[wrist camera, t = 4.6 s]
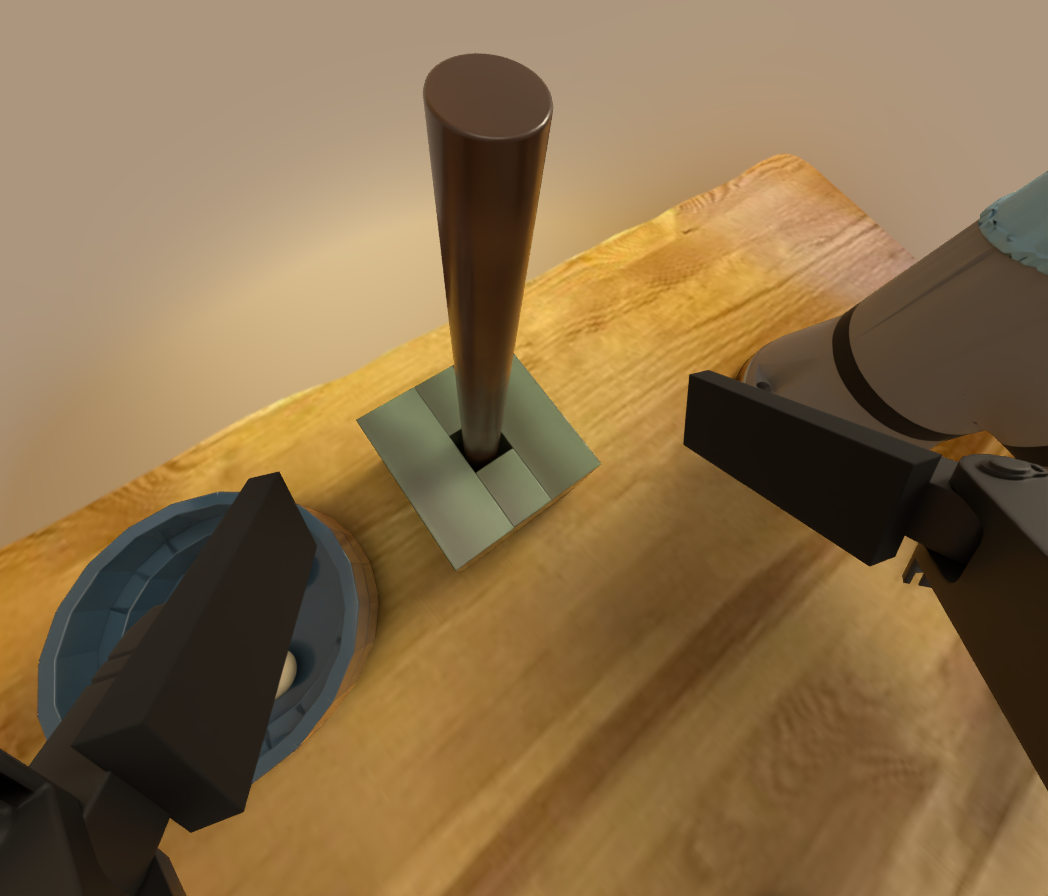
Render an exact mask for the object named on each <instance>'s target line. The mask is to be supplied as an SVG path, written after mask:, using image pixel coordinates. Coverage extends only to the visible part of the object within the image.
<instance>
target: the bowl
mask: <svg viewBox="0 0 1048 896" xmlns="http://www.w3.org/2000/svg"><path fill="white" fill-rule="evenodd" d="M239 493H240V492H215V493H212V494H208V495H204V496H200V497H196V498H193V499H189V500H185V501H181V502H177V503H174V504H171V505H169V506H167V507H166V508H164V509H162V510H160V511H158V512H156V513H155V514H153V515H151V516H149V517H147V518H146V519H144V520H142V521H140V522H138V523H136V524H135V525H133V526H131V527H129V528H128V529H126V530H125V531H124V532H123V533H122V534H121V535H120V536H118V537H117V538H116V539H115V540H114V541H113V542H112V543H111V544H110V545H109V546H107V547H106V548H105V549H104V550H103V551H102V552H101V553H100V554H99V555H97V556H96V557H95V558H94V559H93V560H92V561H91V562H90V563H89V564H88V565H87V566H86V568H85V569H84V570H83V572H82V573H81V575H80V576H79V578H78V579H77V581H76V582H75V584H74V585H73V587H72V588H71V590H70V591H69V592H68V594H67V595H66V597H65V598H64V600H63V601H62V603H61V604H60V606H59V607H58V609H57V611H56V613H55V615H54V618H53V621H52V624H51V627H50V630H49V633H48V636H47V639H46V641H45V644H44V647H43V650H42V653H41V656H40V659H39V662H40V663H39V664H38V706H37V713H38V715H37V717H38V719H39V722H40V724H41V727H42V730H43V732H44V735H45V737H46V740H48V739H49V737H50V736H51V735H52V733H53V732H54V730H55V729H56V728H57V726H58V725H59V724H60V722H61V721H62V719H63V718H64V717H65V715H66V714H67V712H68V711H69V710H70V708H71V707H72V706H73V704H74V703H75V701H76V700H77V699H78V697H79V696H80V695H81V693H82V692H83V690H84V689H85V688H86V686H89V685H91V683H92V681H91V679H92V678H93V677H94V675H95V674H96V672H97V671H98V670H99V668H100V667H101V666H102V664H103V663H105V662H107V661H108V658H107V657H108V656H109V654H110V653H111V652H112V650H113V649H114V648H115V646H116V645H117V643H118V642H119V641H120V639H121V638H122V637H123V635H124V634H125V632H126V631H127V630H128V629H129V628H130V627H132V626H133V625H134V624H135V623H136V622H137V621H138V620H139V619H140V618H141V617H142V616H144V615H145V614H146V613H147V612H148V611H149V610H150V609H151V608H152V607H153V606H156V605H160V604H163V603H166V602H167V601H168V599H169V598H170V596H171V595H172V593H173V592H174V590H175V589H176V587H177V586H178V584H179V583H180V581H181V580H182V578H183V577H184V575H185V574H186V572H187V571H188V569H189V568H190V566H191V565H192V563H193V562H194V560H195V559H196V557H197V556H198V554H199V553H200V551H201V550H202V548H203V547H204V545H205V544H206V542H207V541H208V539H209V538H210V536H211V535H212V533H213V532H214V530H215V529H216V527H217V526H218V524H219V523H220V521H221V520H222V518H223V517H224V515H225V514H226V512H227V511H228V509H229V508H230V506H231V505H232V503H233V502H234V500H235V499H236V497H237V496H238V494H239ZM296 505H297V507H298V509H299V511H300V513H301V515H302V517H303V519H304V521H305V523H306V525H307V527H308V529H309V531H310V533H311V535H312V536H313V538H314V540H315V542H316V544H317V549H316V553H315V556H314V560H313V563H312V567H311V571H310V574H309V578H308V581H307V585H306V589H305V592H304V596H303V600H302V603H301V607H300V610H299V614H298V618H297V621H296V625H295V628H294V632H293V636H292V639H291V643H290V647H289V650H288V651H290V652H291V653H292V654H293V656H294V657H295V660H296V663H297V672H296V676H295V679H294V681H293V683H292V685H291V686H290V688H289V689H288V690H287V691H286V692H285V693H284V694H283V695H282V696H281V697H279V698H278V699H276V700H275V701H274V704H273V708H272V712H271V715H270V719H269V723H268V726H267V730H266V733H265V737H264V741H263V744H262V748H261V751H260V755H259V759H258V762H257V766H256V770H255V773H254V777H253V780H252V784H253V783H254V782H255V781H257V780H258V779H259V778H260V777H262V776H263V775H264V774H266V773H267V772H268V771H269V770H271V769H272V768H273V767H275V766H276V765H277V764H278V763H280V762H281V761H282V760H283V759H285V758H286V757H287V756H289V755H290V754H291V753H292V752H294V751H295V750H296V749H298V748H299V747H300V746H301V745H302V744H303V743H304V742H305V741H306V740H307V739H308V738H309V737H310V736H311V735H312V734H313V733H314V732H315V731H316V730H317V729H318V728H319V727H320V726H321V725H322V724H323V723H324V722H325V721H326V720H327V719H328V718H330V716H331V715H332V714H333V713H334V712H335V710H336V709H337V708H338V706H339V705H340V704H341V702H342V701H343V700H344V698H345V697H346V696H347V694H348V693H349V692H350V690H351V689H352V688H353V686H354V685H355V684H356V682H357V681H358V679H359V678H360V675H361V673H362V670H363V668H364V665H365V663H366V660H367V658H368V655H369V653H370V650H371V648H372V645H373V643H374V640H375V633H376V624H377V614H378V604H379V600H378V599H379V598H378V593H377V589H376V584H375V579H374V575H373V570H372V566H371V563H370V561H369V560H368V558H367V557H366V555H365V553H364V552H363V550H362V548H361V547H360V545H359V543H358V542H357V540H356V539H355V537H354V536H353V535H352V534H351V533H350V532H348V531H347V530H346V529H345V528H343V527H342V526H341V525H339V524H338V523H337V522H336V521H334V520H333V519H332V518H331V517H329V516H327V515H325V514H323V513H320V512H317V511H315V510H312V509H310V508H307V507H305V506H302V505H299V504H296Z"/></svg>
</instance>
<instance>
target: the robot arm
mask: <svg viewBox="0 0 1048 896" xmlns="http://www.w3.org/2000/svg"><path fill="white" fill-rule="evenodd" d="M985 430H986V431H988V432H989V433H991V434H992V435H993V436H994V437H995V438H996V439H997V440H998V441H999V442H1000V443H1001V444H1002V445H1003V446H1004V447H1005V448H1006V449H1007V450H1008V451H1009V452H1010V453H1011V454H1012V455H1013V456H1014V457H1015V458H1016V459H1014V458H1010V457H1005V456H998V455H990V454H972V455H968V456H963V457H962V458H961V459H960V460H959V462H956V461H953V460H950V459H947V458H944V457H942V455H941V454H939V453H936V452H933V451H930V450H929V449H931V448H933V447H934V446H936V445H937V444H939V443H940V442H943V441H947V440H950V439H953V438H957V437H960V436H964V435H967V434H971V433H976V432H980V431H985ZM683 445H685V446H686V447H688V448H689V449H691V450H692V451H694V452H695V453H697V454H698V455H700V456H702V457H703V458H705V459H706V460H708V461H709V462H711V463H712V464H714V465H715V466H717V467H718V468H720V469H721V470H723V471H724V472H726V473H727V474H729V475H731V476H732V477H734V478H735V479H737V480H738V481H740V482H741V483H743V484H744V485H746V486H747V487H749V488H750V489H752V490H753V491H755V492H757V493H758V494H760V495H761V496H763V497H764V498H766V499H767V500H769V501H770V502H772V503H773V504H775V505H776V506H778V507H779V508H781V509H782V510H784V511H786V512H787V513H789V514H790V515H792V516H793V517H795V518H796V519H798V520H799V521H801V522H802V523H804V524H805V525H807V526H808V527H810V528H812V529H813V530H815V531H816V532H818V533H819V534H821V535H822V536H824V537H825V538H827V539H828V540H830V541H831V542H833V543H834V544H836V545H837V546H839V547H841V548H842V549H844V550H845V551H847V552H848V553H850V554H851V555H853V556H854V557H856V558H857V559H859V560H860V561H862V562H863V563H865V564H867V565H868V566H872V565H875V564H877V563H880V562H883V561H885V560H888V559H890V558H893V557H895V556H896V553H897V551H898V549H899V547H900V545H901V543H902V541H903V538H904V536H907V537H909V538H911V539H912V540H914V541H916V542H918V545H917V547H916V549H915V551H914V553H913V555H912V557H911V559H910V561H909V563H908V565H907V567H906V569H905V571H904V573H903V575H902V577H903V583H908V584H910V582H911V580H912V578H913V576H914V575H915V573H922V572H923V573H924V574H923V576H922V578H921V580H920V582H919V586H925V587H930V588H932V589H933V591H934V592H935V594H936V596H937V598H938V599H939V601H940V603H941V605H942V606H943V608H944V610H945V612H946V613H947V615H948V617H949V619H950V620H951V622H952V624H953V626H954V627H955V629H956V631H957V633H958V634H959V636H960V638H961V640H962V642H963V643H964V645H965V647H966V649H967V650H968V652H969V654H970V656H971V657H972V659H973V661H974V663H975V664H976V666H977V668H978V670H979V671H980V673H981V675H982V677H983V678H984V680H985V682H986V684H987V685H988V687H989V689H990V691H991V692H992V694H993V696H994V698H995V699H996V701H997V703H998V705H999V706H1000V708H1001V710H1002V712H1003V713H1004V715H1005V717H1006V719H1007V720H1008V722H1009V724H1010V726H1011V727H1012V729H1013V731H1014V733H1015V734H1016V736H1017V738H1018V740H1019V741H1020V743H1021V745H1022V747H1023V748H1024V750H1025V752H1026V754H1027V756H1028V757H1029V759H1030V761H1031V763H1032V764H1033V766H1034V768H1035V770H1036V771H1037V773H1038V775H1039V777H1040V778H1041V780H1042V782H1043V784H1044V785H1045V787H1046V789H1047V791H1048V171H1047V172H1045V173H1044V174H1042V175H1041V176H1039V177H1037V178H1036V179H1034V180H1033V181H1032V182H1030V183H1028V184H1027V185H1025V186H1024V187H1022V188H1021V189H1019V190H1018V191H1016V192H1014V193H1011V194H1009V195H1007V196H1004V197H1002V198H1000V199H998V200H997V201H995V202H994V203H993V204H991V205H990V206H989V207H988V208H986V209H985V210H984V211H983V212H982V213H981V214H980V219H979V220H977V221H976V222H974V223H973V224H972V225H970V226H969V227H967V228H966V229H964V230H963V231H962V232H960V233H959V234H957V235H956V236H954V237H953V238H951V239H950V240H949V241H947V242H946V243H944V244H943V245H941V246H940V247H939V248H937V249H936V250H934V251H933V252H931V253H930V254H929V255H927V256H926V257H924V258H923V259H921V260H920V261H918V262H917V263H916V264H914V265H913V266H911V267H910V268H908V269H907V270H905V271H904V272H903V273H901V274H900V275H898V276H897V277H895V278H894V279H893V280H891V281H890V282H888V283H887V284H885V285H884V286H882V287H881V288H880V289H878V290H877V291H875V292H874V293H872V294H871V295H870V296H868V297H867V298H865V299H864V300H863V301H861V302H860V303H859V304H857V305H856V306H854V307H853V308H851V309H850V310H849V311H847V312H846V313H844V314H843V315H841V316H839V317H836V318H833V319H830V320H827V321H824V322H822V323H819V324H816V325H813V326H810V327H807V328H805V329H802V330H799V331H796V332H793V333H790V334H788V335H785V336H782V337H780V338H778V339H776V340H774V341H772V342H770V343H769V344H767V345H766V346H764V347H763V348H762V349H760V350H759V351H758V352H757V353H755V354H754V355H753V356H752V357H751V358H750V359H749V360H748V361H747V362H746V363H745V365H744V366H743V368H742V370H741V372H740V374H739V377H738V380H734V379H732V378H729V377H726V376H723V375H721V374H718V373H715V372H712V371H710V370H707V371H702V372H698V373H694V374H690V375H689V385H688V397H687V408H686V419H685V431H684V442H683ZM316 549H317V544H316V542H315V540H314V538H313V536H312V535H311V533H310V531H309V529H308V527H307V525H306V523H305V521H304V519H303V517H302V515H301V513H300V511H299V509H298V507H297V505H296V503H295V501H294V499H293V497H292V495H291V494H290V492H289V490H288V488H287V486H286V484H285V482H284V480H283V478H282V476H281V474H280V472H275V473H271V474H267V475H262V476H258V477H254V478H250V479H248V481H247V482H246V484H245V485H244V487H243V488H242V490H241V491H240V493H239V494H238V496H237V497H236V499H235V500H234V502H233V503H232V505H231V506H230V508H229V509H228V511H227V512H226V514H225V515H224V517H223V518H222V520H221V521H220V523H219V524H218V526H217V527H216V529H215V530H214V532H213V533H212V535H211V536H210V538H209V539H208V541H207V542H206V544H205V545H204V547H203V548H202V550H201V551H200V553H199V554H198V556H197V557H196V559H195V560H194V562H193V563H192V565H191V566H190V568H189V569H188V571H187V572H186V574H185V575H184V577H183V578H182V580H181V581H180V583H179V584H178V586H177V587H176V589H175V590H174V592H173V593H172V595H171V596H170V598H169V599H168V601H167V602H166V603H163V604H160V605H156V606H153V607H152V608H151V609H150V610H149V611H148V612H147V613H146V614H145V615H144V616H142V617H141V618H140V619H139V620H138V621H137V622H136V623H135V624H134V625H133V626H132V627H130V628H129V629H128V630H127V631H126V632H125V634H124V635H123V637H122V638H121V639H120V641H119V642H118V643H117V645H116V646H115V648H114V649H113V650H112V652H111V653H110V654H109V656H108V657H107V658H108V661H107V662H105V663H103V664H102V666H101V667H100V668H99V670H98V671H97V672H96V674H95V675H94V677H93V678H92V679H91V681H92V683H91V685H89V686H86V688H85V689H84V690H83V692H82V693H81V695H80V696H79V697H78V699H77V700H76V701H75V703H74V704H73V706H72V707H71V708H70V710H69V711H68V712H67V714H66V715H65V717H64V718H63V719H62V721H61V722H60V724H59V725H58V726H57V728H56V729H55V730H54V732H53V733H52V735H51V736H50V737H49V739H48V740H47V741H46V743H45V744H44V746H43V747H42V748H41V750H40V751H39V753H38V754H37V755H36V757H35V758H34V759H33V761H32V762H31V764H30V765H29V766H27V765H25V764H23V763H22V762H20V761H19V760H17V759H16V758H14V757H12V756H11V755H9V754H8V753H6V752H4V751H3V750H1V749H0V896H186V894H185V892H184V889H183V887H182V885H181V883H180V881H179V879H178V876H177V874H176V872H175V870H174V868H173V866H172V863H171V861H170V859H169V857H168V856H167V855H165V854H164V853H163V852H162V851H161V850H160V849H158V845H159V843H160V840H161V838H162V836H163V833H164V831H165V828H166V826H167V823H168V821H169V818H171V819H172V820H174V821H175V822H176V823H178V824H179V825H181V826H182V827H183V828H185V829H186V830H188V831H189V832H190V833H191V832H194V831H197V830H199V829H202V828H204V827H207V826H209V825H212V824H214V823H217V822H219V821H222V820H225V819H227V818H230V817H232V816H235V815H237V814H240V813H242V812H244V809H245V806H246V802H247V798H248V795H249V791H250V788H251V784H252V780H253V777H254V773H255V770H256V766H257V762H258V759H259V755H260V751H261V748H262V744H263V741H264V737H265V733H266V730H267V726H268V723H269V719H270V715H271V712H272V708H273V704H274V701H275V697H276V694H277V690H278V686H279V683H280V679H281V675H282V672H283V668H284V665H285V661H286V657H287V654H288V650H289V647H290V643H291V639H292V636H293V632H294V628H295V625H296V621H297V618H298V614H299V610H300V607H301V603H302V600H303V596H304V592H305V589H306V585H307V581H308V578H309V574H310V571H311V567H312V563H313V560H314V556H315V553H316Z"/></svg>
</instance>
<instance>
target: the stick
mask: <svg viewBox="0 0 1048 896" xmlns="http://www.w3.org/2000/svg"><path fill="white" fill-rule="evenodd" d="M423 99H424V108H425V116H426V125H427V133H428V143H429V151H430V160H431V169H432V177H433V186H434V195H435V203H436V212H437V221H438V230H439V237H440V247H441V256H442V264H443V273H444V282H445V290H446V299H447V308H448V316H449V325H450V334H451V343H452V351H453V360H454V369H455V377H456V386H457V395H458V403H459V412H460V421H461V430H462V438H463V447H464V456H465V460H466V461H467V462H468V464H469V465H470V467H471V468H472V469H473V471H474V472H475V474H476V472H478V471H479V470H481V469H482V468H484V467H485V466H487V465H488V464H490V463H491V462H493V461H494V460H496V459H497V453H498V447H499V441H500V435H501V429H502V423H503V416H504V410H505V404H506V398H507V392H508V385H509V379H510V373H511V367H512V361H513V355H514V348H515V342H516V336H517V330H518V324H519V317H520V311H521V305H522V299H523V293H524V287H525V280H526V274H527V268H528V262H529V255H530V249H531V243H532V236H533V230H534V225H535V219H536V211H537V206H538V199H539V194H540V188H541V181H542V175H543V169H544V163H545V157H546V151H547V144H548V138H549V132H550V126H551V120H552V113H553V102H552V97H551V94H550V91H549V89H548V87H547V86H546V84H545V83H544V82H543V80H542V79H541V78H540V77H539V76H538V75H537V74H536V73H534V72H533V71H532V70H530V69H529V68H527V67H525V66H524V65H522V64H520V63H518V62H516V61H513V60H511V59H508V58H504V57H501V56H496V55H490V54H476V53H475V54H464V55H459V56H455V57H452V58H449V59H447V60H444V61H442V62H441V63H439V64H438V65H436V66H435V67H434V68H433V69H432V70H431V71H430V73H429V74H428V76H427V78H426V80H425V84H424V88H423Z"/></svg>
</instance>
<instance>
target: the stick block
mask: <svg viewBox="0 0 1048 896" xmlns="http://www.w3.org/2000/svg"><path fill="white" fill-rule="evenodd" d="M356 421H357V422H358V424H359V425H360V427H361V428H362V430H363V432H364V433H365V435H366V436H367V438H368V439H369V441H370V442H371V444H372V445H373V447H374V448H375V450H376V451H377V453H378V454H379V456H380V457H381V459H382V460H383V462H384V463H385V465H386V466H387V468H388V469H389V471H390V472H391V474H392V475H393V477H394V478H395V480H396V481H397V483H398V485H399V486H400V488H401V489H402V491H403V492H404V494H405V495H406V497H407V498H408V500H409V501H410V503H411V504H412V506H413V507H414V509H415V510H416V512H417V513H418V515H419V516H420V518H421V519H422V521H423V522H424V524H425V525H426V527H427V528H428V530H429V531H430V533H431V534H432V536H433V538H434V539H435V541H436V542H437V544H438V545H439V547H440V548H441V550H442V551H443V553H444V554H445V556H446V557H447V559H448V560H449V562H450V563H451V565H452V566H453V568H454V569H455V571H461V572H462V571H463V570H465V569H466V568H468V567H469V566H470V565H472V564H473V563H474V562H476V561H477V560H478V559H480V558H481V557H482V556H484V555H485V554H486V553H488V552H489V551H490V550H492V549H493V548H494V547H496V546H497V545H498V544H500V543H501V542H503V541H504V540H505V539H507V538H508V537H509V536H511V535H512V534H513V533H515V532H516V531H517V530H519V529H520V528H521V527H523V526H524V525H525V524H527V523H528V522H529V521H531V520H532V519H533V518H535V517H536V516H538V515H539V514H540V513H542V512H543V511H544V510H546V509H547V508H548V507H550V506H551V505H552V504H554V503H555V502H556V501H558V500H559V499H560V498H562V497H563V496H565V495H566V494H567V493H569V492H570V491H571V490H572V489H574V488H575V487H576V486H577V485H578V484H579V483H580V482H581V481H583V480H584V479H585V478H586V477H587V476H588V475H589V474H590V473H592V472H593V471H594V470H595V469H596V468H597V467H598V466H599V465H601V462H600V461H599V460H598V459H597V457H596V456H595V455H594V454H593V452H592V451H591V450H590V449H589V447H588V446H587V445H586V443H585V442H584V441H583V440H582V438H581V437H580V436H579V435H578V433H577V432H576V431H575V430H574V428H573V427H572V426H571V425H570V423H569V422H568V421H567V420H566V418H565V417H564V416H563V415H562V413H561V412H560V411H559V410H558V408H557V407H556V406H555V404H554V403H553V402H552V401H551V399H550V398H549V397H548V396H547V394H546V393H545V392H544V391H543V389H542V388H541V387H540V386H539V384H538V383H537V382H536V381H535V379H534V378H533V377H532V376H531V374H530V373H529V372H528V371H527V369H526V368H525V367H524V365H523V364H522V363H521V362H520V360H519V359H518V358H517V357H516V355H515V354H514V355H513V361H512V367H511V373H510V379H509V385H508V392H507V398H506V404H505V410H504V416H503V423H502V429H501V435H500V441H499V447H498V453H497V459H496V460H494V461H493V462H491V463H490V464H488V465H487V466H485V467H484V468H482V469H481V470H479V471H478V472H476V474H475V472H474V471H473V469H472V468H471V467H470V465H469V464H468V462H467V461H466V460H465V456H464V447H463V438H462V430H461V421H460V412H459V403H458V395H457V386H456V377H455V369H454V365H453V366H451V367H449V368H447V369H446V370H444V371H442V372H440V373H439V374H437V375H435V376H433V377H431V378H430V379H428V380H426V381H424V382H423V383H421V384H419V385H417V386H415V387H414V388H412V389H410V390H408V391H406V392H405V393H403V394H401V395H399V396H398V397H396V398H394V399H392V400H390V401H389V402H387V403H385V404H383V405H382V406H380V407H378V408H376V409H374V410H373V411H371V412H369V413H367V414H366V415H364V416H362V417H360V418H358V419H357V420H356Z"/></svg>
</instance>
